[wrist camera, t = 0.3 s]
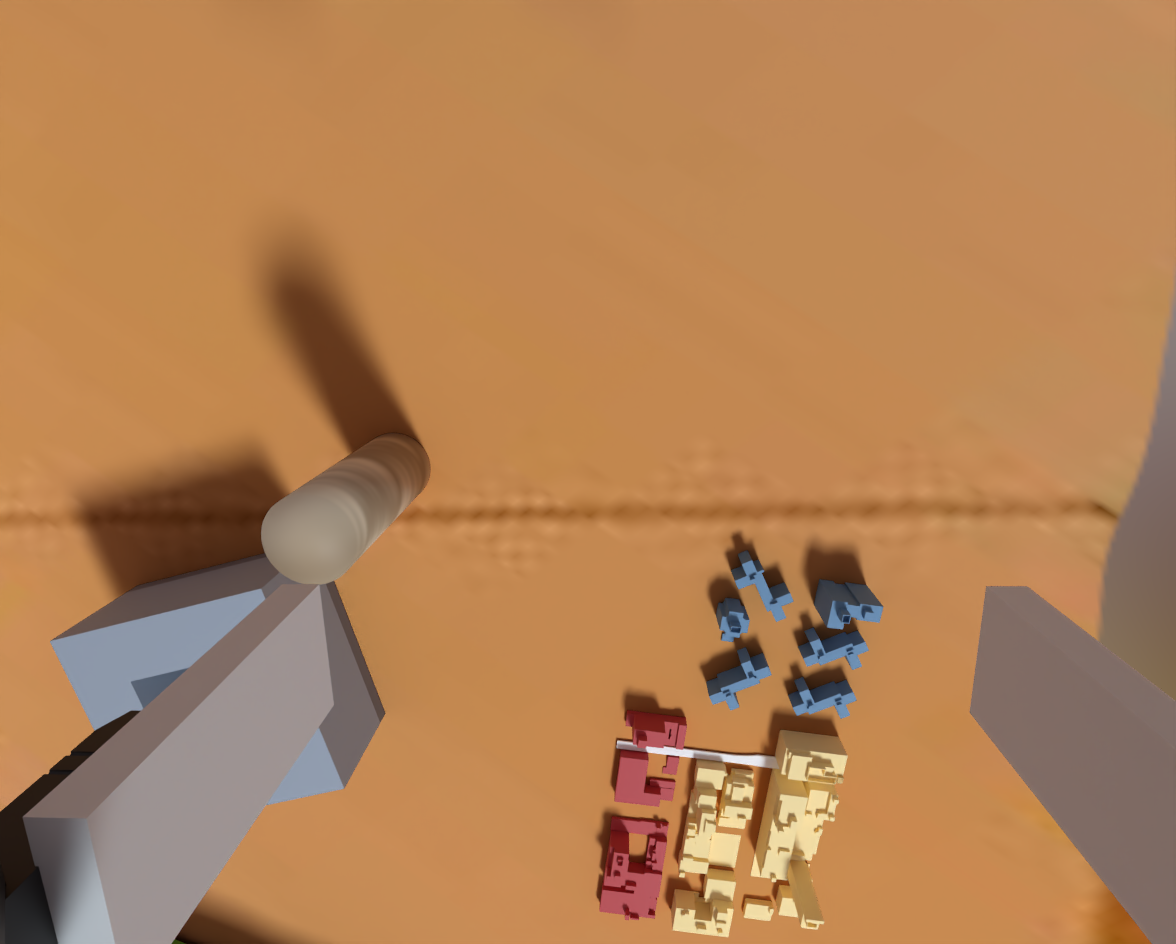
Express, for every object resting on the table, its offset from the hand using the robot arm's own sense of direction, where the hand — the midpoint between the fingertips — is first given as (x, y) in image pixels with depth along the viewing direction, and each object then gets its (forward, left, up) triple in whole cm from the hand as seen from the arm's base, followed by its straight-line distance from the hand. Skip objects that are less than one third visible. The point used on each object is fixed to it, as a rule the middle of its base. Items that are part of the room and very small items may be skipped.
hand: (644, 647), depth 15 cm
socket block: (+9, -26, -27) cm, 38 cm away
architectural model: (+31, -3, -28) cm, 41 cm away
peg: (0, -14, -27) cm, 30 cm away
